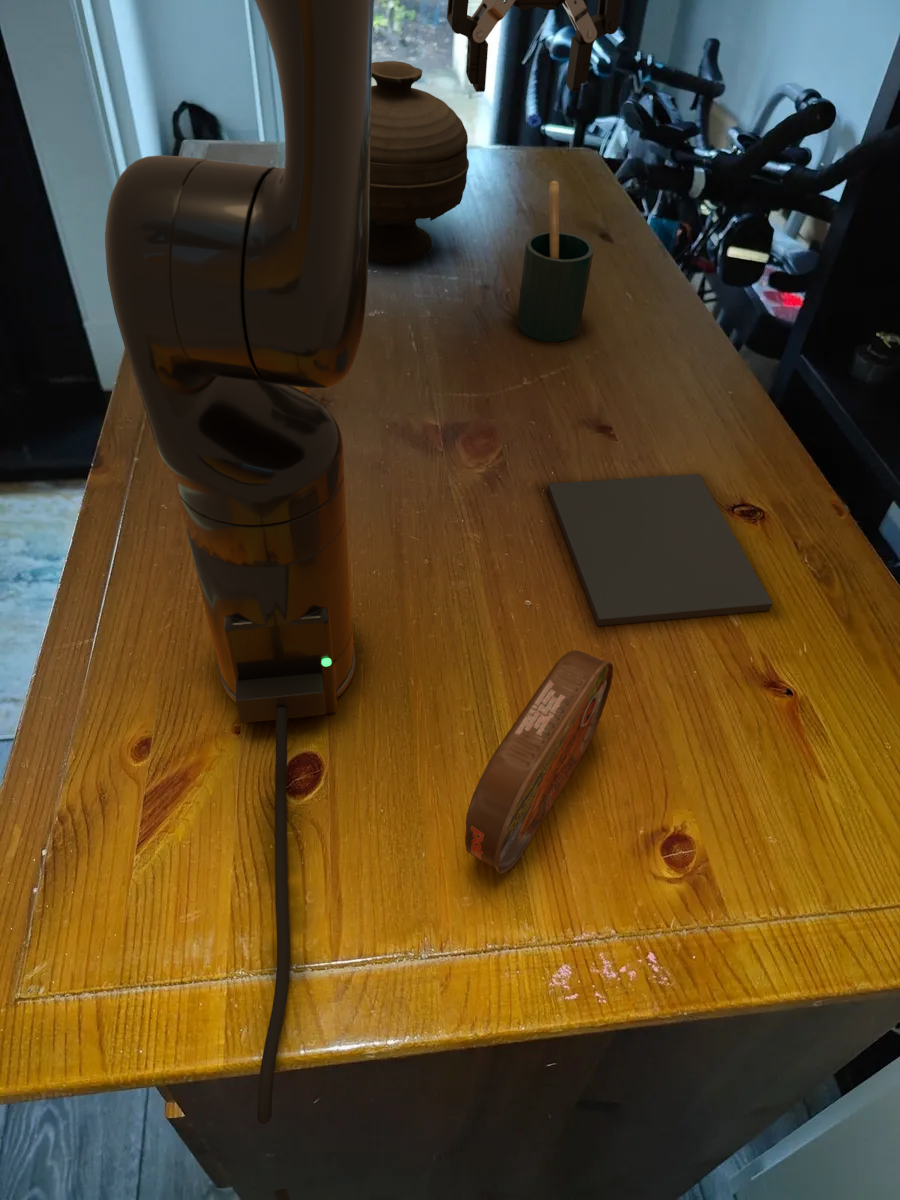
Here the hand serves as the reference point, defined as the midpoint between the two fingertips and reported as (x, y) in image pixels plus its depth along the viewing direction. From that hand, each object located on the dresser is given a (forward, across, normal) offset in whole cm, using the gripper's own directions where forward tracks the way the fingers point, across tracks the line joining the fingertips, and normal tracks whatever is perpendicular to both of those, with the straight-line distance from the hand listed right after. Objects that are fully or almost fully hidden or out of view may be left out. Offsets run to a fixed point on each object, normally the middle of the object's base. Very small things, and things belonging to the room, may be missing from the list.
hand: (526, 88), depth 74 cm
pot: (+25, -9, +22) cm, 35 cm away
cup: (+24, +6, +1) cm, 25 cm away
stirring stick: (+17, +6, +3) cm, 18 cm away
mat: (+23, +5, -35) cm, 42 cm away
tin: (+23, -10, -56) cm, 61 cm away
